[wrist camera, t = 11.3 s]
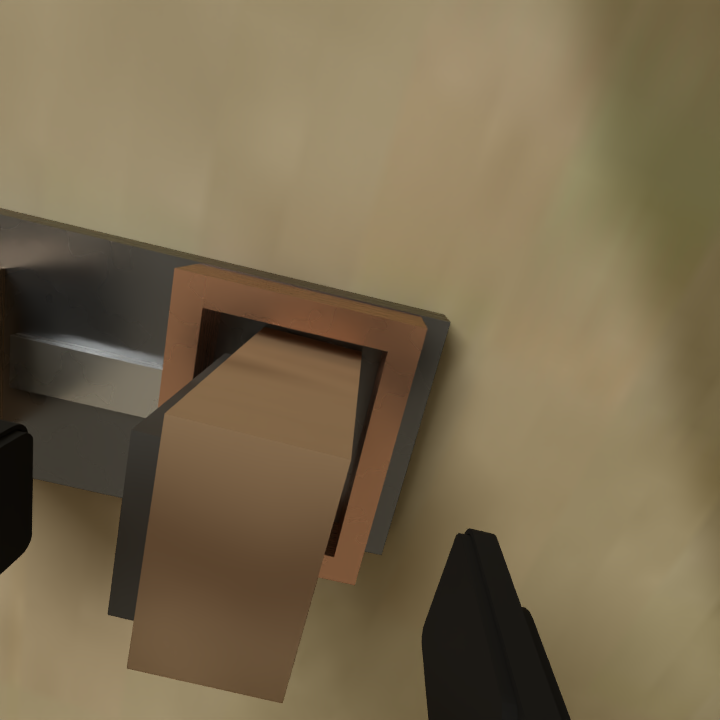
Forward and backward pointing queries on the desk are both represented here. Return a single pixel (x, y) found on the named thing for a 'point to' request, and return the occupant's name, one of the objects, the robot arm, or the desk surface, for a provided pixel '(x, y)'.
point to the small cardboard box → (235, 513)
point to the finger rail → (191, 358)
